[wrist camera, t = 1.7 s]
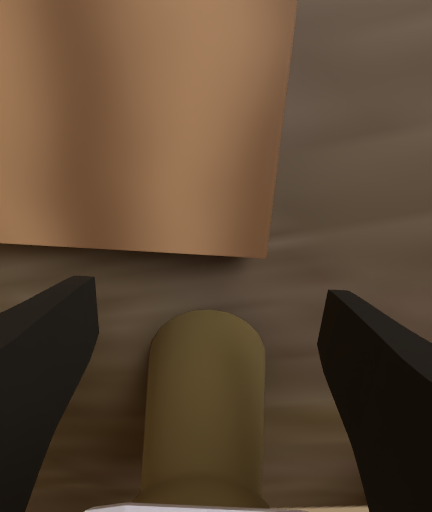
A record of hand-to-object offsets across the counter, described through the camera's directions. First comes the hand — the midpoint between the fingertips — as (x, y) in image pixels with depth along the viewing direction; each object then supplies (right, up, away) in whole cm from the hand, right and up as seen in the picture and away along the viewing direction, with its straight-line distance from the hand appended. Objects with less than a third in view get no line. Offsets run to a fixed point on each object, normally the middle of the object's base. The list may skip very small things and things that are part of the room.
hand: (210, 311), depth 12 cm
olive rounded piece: (0, -4, +8) cm, 9 cm away
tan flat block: (-4, +8, +3) cm, 10 cm away
